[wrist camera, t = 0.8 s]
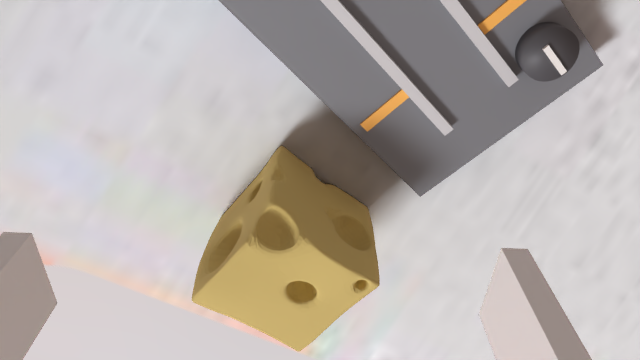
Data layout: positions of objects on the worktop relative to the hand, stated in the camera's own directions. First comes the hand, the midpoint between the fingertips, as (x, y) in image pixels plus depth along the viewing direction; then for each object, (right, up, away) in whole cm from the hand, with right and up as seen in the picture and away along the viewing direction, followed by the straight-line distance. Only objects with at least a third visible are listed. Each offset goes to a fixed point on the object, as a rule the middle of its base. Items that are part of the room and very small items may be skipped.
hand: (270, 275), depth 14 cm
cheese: (-1, 0, +29) cm, 29 cm away
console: (+6, +16, +18) cm, 25 cm away
